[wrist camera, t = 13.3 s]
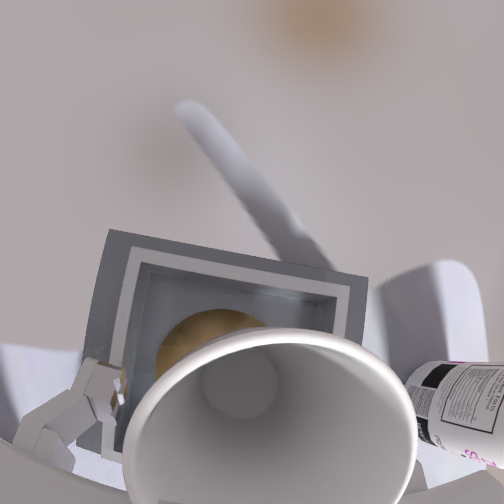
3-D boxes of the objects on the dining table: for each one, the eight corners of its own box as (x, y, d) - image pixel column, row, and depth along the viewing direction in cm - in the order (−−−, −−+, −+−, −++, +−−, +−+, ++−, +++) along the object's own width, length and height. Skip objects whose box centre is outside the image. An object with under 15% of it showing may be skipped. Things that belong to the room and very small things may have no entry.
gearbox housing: (93, 431, 20) (57, 461, 13) (122, 243, 25) (93, 211, 17) (317, 464, 22) (351, 501, 15) (347, 285, 26) (392, 268, 19)
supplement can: (450, 352, 26) (564, 347, 12) (449, 420, 24) (553, 441, 10) (392, 370, 25) (520, 383, 11) (393, 445, 23) (501, 493, 9)
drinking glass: (167, 374, 19) (58, 457, 4) (240, 308, 20) (290, 250, 6) (237, 442, 18) (271, 601, 4) (308, 377, 20) (462, 440, 5)
